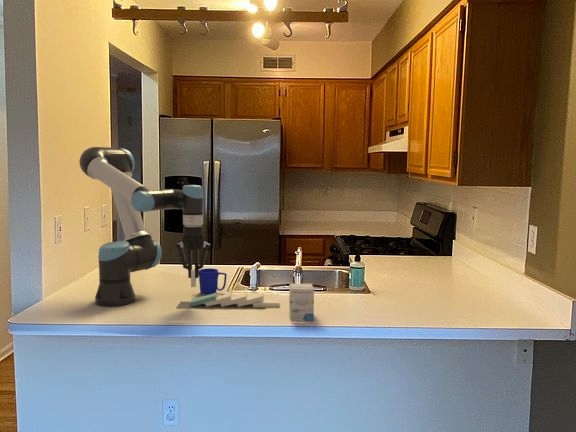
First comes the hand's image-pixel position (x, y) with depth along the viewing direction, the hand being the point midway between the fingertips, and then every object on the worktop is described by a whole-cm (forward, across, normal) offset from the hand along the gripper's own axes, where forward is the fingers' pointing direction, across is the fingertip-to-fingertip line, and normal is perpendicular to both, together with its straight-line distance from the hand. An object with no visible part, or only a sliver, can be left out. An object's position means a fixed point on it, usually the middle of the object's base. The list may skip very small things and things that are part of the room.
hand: (193, 286), depth 199 cm
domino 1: (+7, +5, 0) cm, 8 cm away
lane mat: (+8, +11, 0) cm, 13 cm away
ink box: (+8, +41, -14) cm, 44 cm away
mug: (+8, +5, +19) cm, 21 cm away
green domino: (+7, -1, 0) cm, 7 cm away
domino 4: (+7, +23, 0) cm, 24 cm away
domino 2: (+7, +11, 0) cm, 13 cm away
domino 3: (+7, +17, 0) cm, 18 cm away
